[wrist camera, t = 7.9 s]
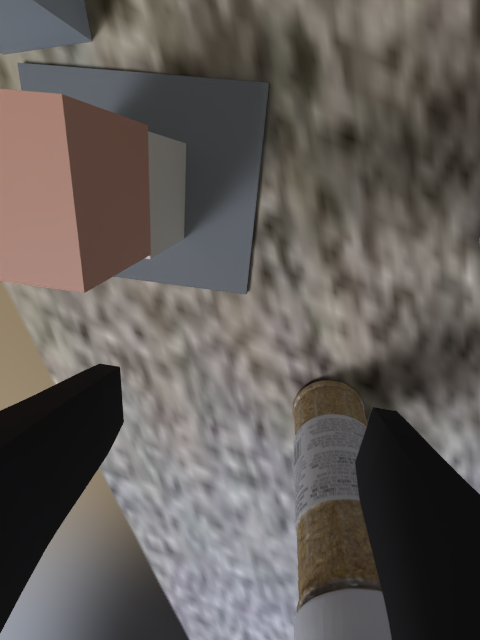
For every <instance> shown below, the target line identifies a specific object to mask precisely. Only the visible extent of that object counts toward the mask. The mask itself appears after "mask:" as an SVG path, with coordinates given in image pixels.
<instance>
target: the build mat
mask: <svg viewBox="0 0 480 640" xmlns="http://www.w3.org/2000/svg"><path fill="white" fill-rule="evenodd" d="M18 69H19V76H20V82H21V89H22V91H32V92H44V93H57V94H63V95H66V96H69V97H72V98H74V99H77V100H80V101H83V102H85V103H88V104H91V105H94V106H96V107H99V108H102V109H105V110H107V111H110V112H113V113H116V114H118V115H121V116H124V117H127V118H129V119H132V120H135V121H138V122H141V123H143V124H146V125H148V131H149V132H152V133H155V134H158V135H161V136H164V137H167V138H171V139H174V140H177V141H180V142H183V143H186V178H185V222H184V239H183V240H181V241H180V242H178V243H176V244H175V245H173V246H171V247H170V248H168V249H166V250H165V251H163V252H161V253H160V254H158V255H156V256H155V257H153V258H151V259H146V258H144V259H143V260H141V261H139V262H137V263H136V264H134V265H132V266H130V267H129V268H127V269H125V270H123V271H122V272H120V273H118V274H116V275H115V276H114V277H121V278H129V279H136V280H144V281H151V282H158V283H166V284H173V285H181V286H188V287H195V288H203V289H210V290H218V291H225V292H232V293H240V294H247V286H248V277H249V268H250V259H251V249H252V240H253V231H254V222H255V212H256V203H257V194H258V185H259V176H260V166H261V157H262V148H263V139H264V129H265V120H266V111H267V102H268V92H269V83H268V82H256V81H243V80H230V79H218V78H205V77H192V76H180V75H167V74H154V73H142V72H129V71H116V70H104V69H91V68H79V67H66V66H53V65H41V64H28V63H18Z"/></svg>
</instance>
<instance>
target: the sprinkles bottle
mask: <svg viewBox="0 0 480 640" xmlns="http://www.w3.org/2000/svg"><path fill="white" fill-rule="evenodd" d="M293 416H294V420H295V439H294V475H295V527H296V536H297V554H298V578H299V580H298V589H299V602H298V605H297V614H296V617H295V621H294V640H392V639H391V632H390V626H389V621H388V616H387V611H386V607H385V602H384V597H383V593H382V589H381V585H380V581H379V577H378V573H377V569H376V565H375V561H374V557H373V553H372V549H371V545H370V541H369V537H368V533H367V529H366V525H365V521H364V516H363V512H362V508H361V504H360V499H359V492H358V484H357V475H356V466H355V461H356V458H357V455H358V452H359V449H360V446H361V443H362V440H363V437H364V434H365V431H366V428H367V425H368V422H367V419H366V416H365V409H364V403H363V401H362V399H361V397H360V396H359V394H357V392H356V391H355V390H354V389H352V388H351V387H350V386H348V385H346V384H345V383H342V382H336V381H328V380H323V381H317V382H314V383H311V384H309V385H308V386H306V387H305V388H303V389H302V390H301V391H300V392H299V393H298V394H297V396H296V397H295V400H294V403H293Z"/></svg>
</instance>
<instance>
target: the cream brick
mask: <svg viewBox="0 0 480 640" xmlns="http://www.w3.org/2000/svg"><path fill="white" fill-rule="evenodd" d="M148 149H149V192H150V235H151V255H150V256H148V257H146V259H151V258H153V257H155V256H156V255H158V254H160V253H161V252H163V251H165V250H166V249H168V248H170V247H171V246H173V245H175V244H176V243H178V242H180V241H181V240H183V239H184V222H185V178H186V143H183V142H180V141H177V140H174V139H171V138H167V137H164V136H161V135H158V134H155V133H152V132H149V131H148Z"/></svg>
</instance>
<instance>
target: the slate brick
mask: <svg viewBox="0 0 480 640" xmlns="http://www.w3.org/2000/svg"><path fill="white" fill-rule="evenodd" d="M91 41H92V38H91V33H90V28H89V23H88V18H87V13H86V8H85V2H84V0H0V53H2V54H11V53H18V52H24V51H31V50H38V49H44V48H51V47H58V46H64V45H71V44H78V43H84V42H91Z"/></svg>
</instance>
